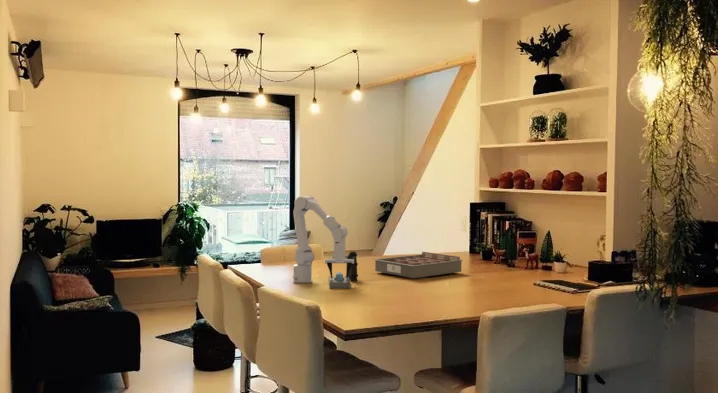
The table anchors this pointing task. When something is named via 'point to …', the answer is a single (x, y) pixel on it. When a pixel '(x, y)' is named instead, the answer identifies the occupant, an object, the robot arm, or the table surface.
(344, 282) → the chassis
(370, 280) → the table surface
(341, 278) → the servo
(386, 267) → the organizer tray
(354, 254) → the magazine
